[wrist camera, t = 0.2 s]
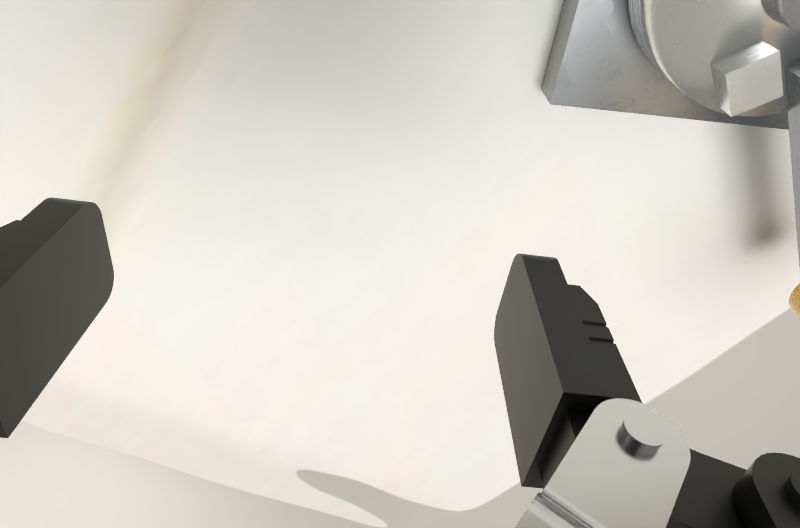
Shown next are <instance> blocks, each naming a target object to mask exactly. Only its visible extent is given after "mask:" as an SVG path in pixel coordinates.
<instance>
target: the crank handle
mask: <svg viewBox="0 0 800 528" xmlns="http://www.w3.org/2000/svg"><path fill="white" fill-rule="evenodd" d="M628 8H629V15H630V21H631V26H632V29H633V32H634V35H635V39H636V41H637V43H638V45H639V47H640V49H641V51H642V52H643V54H644V55H645V56H646V58H647V59H648V60H649V62H650V63H651V64H652V65H653V66H654V67H655V68H656V69H657V70H658V71H659V72H661V73H662V74H663V75H664V76H665V77H666V78H667V79H669V80H670V81H671V82H672V83H673V84H674V85H675V86H677V87H678V88H679V89H680V90H681V91H682V92H683V93H685V94H686V95H687V96H688V97H689V98H691V99H692V100H694V101H695V102H697V103H698V104H700V105H702V106H704V107H707V108H709V109H711V110H713V111H717V112H721V113H724V114H728V115H730V116H731V117H733V116H735V115H737V116H764V115H772V114H778V113H783V112H787V111H788V122H789V135H790V148H791V161H792V174H793V187H794V201H795V214H796V227H797V240H798V253H799V266H800V33H799V32H797V31H795V30H793V29H791V28H789V27H787V26H785V25H782V24H780V23H778V22H776V21H774V20H773V19H771V18H770V17H769V16H768V15H767V13H766V12H765V10H764V8H763V5H762V0H628ZM789 305H790V307H791V309H792V310H793V311H794V312H795V313H796V315H797V316H798V317H799V318H800V284H799V285H798V286H797V287H796V288H795V289H794V290H793V292H792V293H791V295H790V298H789Z"/></svg>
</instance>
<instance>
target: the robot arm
mask: <svg viewBox="0 0 800 528" xmlns="http://www.w3.org/2000/svg"><path fill="white" fill-rule="evenodd" d="M113 281H114V271H113V266H112V261H111V256H110V251H109V247H108V242H107V237H106V233H105V228H104V223H103V219H102V214H101V211H100V209H99V207H98V206H97V205H96V204H95V203H92V202H85V201H76V200H68V199H59V198H47V199H45V200H44V201H43V202H41V203H40V204H39V205H38V206H37V207H36V208H35V209H33V210H32V211H31V212H30V213H29V214H28V215H26V216H25V217H24V218H23V219H22V220H21V221H19V220H16V221H13V222H11V223H9V224H7V225H5V226H3V227H0V437H2V438H8V437H9V436H10V435H11V433H12V432H13V431H14V429H15V428H16V426H17V425H18V424H19V422H20V421H21V419H22V418H23V417H24V415H25V414H26V413H27V411H28V410H29V408H30V407H31V406H32V404H33V403H34V402H35V400H36V399H37V397H38V396H39V395H40V393H41V392H42V390H43V389H44V388H45V386H46V385H47V384H48V382H49V381H50V379H51V378H52V377H53V375H54V374H55V373H56V371H57V370H58V368H59V367H60V366H61V364H62V363H63V361H64V360H65V359H66V357H67V356H68V355H69V353H70V352H71V350H72V349H73V348H74V346H75V345H76V344H77V342H78V341H79V339H80V338H81V337H82V335H83V334H84V332H85V331H86V330H87V328H88V327H89V326H90V324H91V323H92V321H93V320H94V319H95V317H96V316H97V315H98V313H99V312H100V310H101V309H102V308H103V306H104V305H105V303H106V302H107V300H108V299H109V297H110V294H111V291H112V287H113ZM494 340H495V347H496V353H497V358H498V363H499V369H500V374H501V379H502V385H503V390H504V395H505V401H506V406H507V411H508V417H509V422H510V427H511V433H512V438H513V443H514V449H515V454H516V459H517V465H518V470H519V475H520V481H521V486H524V487H535V488H543V492H542V493H538V494H537V496H536V497H535V498H534V500H533V501H532V502H531V504H530V506H529V507H528V509H527V510H526V512H525V513H524V515H523V516H522V518H521V519H520V521H519V523H518V524H517V526H516V527H515V528H800V458H797V457H794V456H791V455H787V454H783V453H767V454H764V455H761V456H760V457H758V458H757V459H756V460H755V461H754V463H753V464H752V465H751V466H750V467H749V468H748V470H745V469H742V468H740V467H737V466H734V465H731V464H729V463H726V462H723V461H721V460H718V459H715V458H712V457H710V456H707V455H704V454H701V453H699V452H696V451H694V450H692V449H690V448H689V446H688V444H687V442H686V439H685V437H684V436H683V434H682V433H681V431H680V430H679V429H678V428H677V427H676V425H674V423H673V422H671V421H670V420H669V419H668V418H667V417H666V416H664V415H663V414H662V413H660V412H659V411H657V410H655V409H654V408H651V407H650V406H648V405H646V404H643V403H642V402H641V399H640V397H639V395H638V393H637V391H636V388H635V386H634V384H633V382H632V379H631V377H630V375H629V373H628V371H627V368H626V366H625V364H624V362H623V359H622V357H621V355H620V353H619V351H618V348H617V346H616V344H613V340H614V339H613V337H612V335H611V333H610V331H609V328H608V327H606V322H605V319H604V317H603V315H602V313H601V311H600V308H599V306H598V304H597V303H596V302H595V301H594V300H593V299H592V298H591V297H590V296H589V295H588V294H587V293H586V292H585V291H584V290H583V289H582V288H581V287H580V286H576V285H568V284H567V282H566V279H565V277H564V274H563V272H562V269H561V267H560V264H559V262H558V260H557V259H556V258H552V257H543V256H535V255H526V254H517V255H516V256H515V258H514V260H513V262H512V265H511V269H510V272H509V275H508V279H507V282H506V285H505V288H504V292H503V295H502V298H501V302H500V305H499V308H498V311H497V315H496V321H495V330H494Z"/></svg>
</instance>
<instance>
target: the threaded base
mask: <svg viewBox="0 0 800 528" xmlns="http://www.w3.org/2000/svg"><path fill="white" fill-rule="evenodd" d="M762 5H763V8H764V10H765V12H766V13H767V15H768V16H769V17H770V18H771V19H773V20H774V21H776V22H778V23H780V24H782V25H785V26H787V27H789V28H791V29H793V30H795V31H797V32H799V33H800V0H762ZM541 89H542V91H543V93H544V94H545V96H546V98H547V100H548V101H549V103H550V104H554V105H564V106H573V107H582V108H592V109H601V110H610V111H620V112H629V113H639V114H648V115H657V116H667V117H676V118H686V119H695V120H704V121H714V122H723V123H732V124H742V125H751V126H761V127H770V128H779V129H789V122H788V111H787V112H783V113H778V114H772V115H764V116H737V115H735V116H733V117H731V116H730V115H728V114H724V113H721V112H717V111H713V110H711V109H709V108H707V107H704V106H702V105H700V104H698V103H697V102H695V101H694V100H692V99H691V98H689V97H688V96H687V95H686V94H685V93H683V92H682V91H681V90H680V89H679V88H678V87H677V86H675V85H674V84H673V83H672V82H671V81H670V80H669V79H667V78H666V77H665V76H664V75H663V74H662V73H661V72H659V71H658V70H657V69H656V68H655V67H654V66H653V65H652V64H651V63H650V62H649V60H648V59H647V58H646V56H645V55H644V54H643V52H642V51H641V49H640V47H639V45H638V43H637V41H636V39H635V35H634V32H633V29H632V26H631V21H630V15H629V8H628V0H565V2H564V5H563V9H562V13H561V17H560V20H559V24H558V28H557V32H556V35H555V39H554V43H553V46H552V50H551V54H550V58H549V61H548V65H547V69H546V73H545V76H544V80H543V84H542V88H541Z"/></svg>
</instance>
